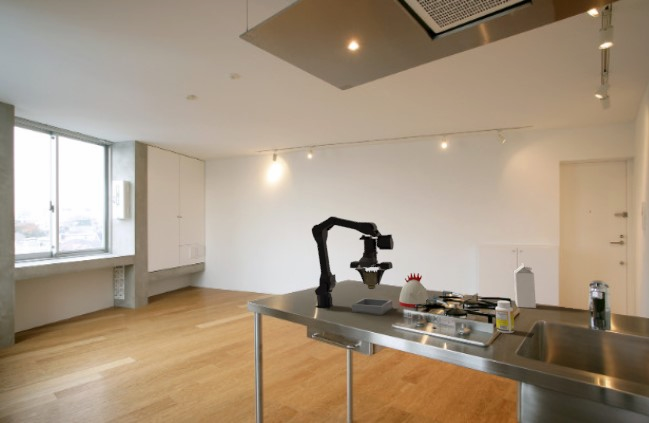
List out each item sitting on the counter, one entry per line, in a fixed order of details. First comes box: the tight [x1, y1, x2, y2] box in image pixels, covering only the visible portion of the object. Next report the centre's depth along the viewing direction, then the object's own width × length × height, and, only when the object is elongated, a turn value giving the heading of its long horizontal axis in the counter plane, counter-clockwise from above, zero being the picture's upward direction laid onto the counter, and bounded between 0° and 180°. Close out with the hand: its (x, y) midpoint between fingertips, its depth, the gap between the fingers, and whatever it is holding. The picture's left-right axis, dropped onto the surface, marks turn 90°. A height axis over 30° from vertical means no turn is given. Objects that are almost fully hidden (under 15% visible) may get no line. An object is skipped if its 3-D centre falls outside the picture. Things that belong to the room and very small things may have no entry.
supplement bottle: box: [495, 300, 515, 334], centre depth 122 cm, size 6×6×10 cm
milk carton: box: [513, 262, 537, 309], centre depth 156 cm, size 7×7×19 cm
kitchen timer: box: [398, 272, 430, 309], centre depth 167 cm, size 14×14×15 cm
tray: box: [351, 297, 394, 316], centre depth 158 cm, size 14×14×4 cm
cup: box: [363, 269, 378, 290], centre depth 159 cm, size 8×7×8 cm
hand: (371, 284), depth 159 cm, fingers closed on cup, 6 cm apart
